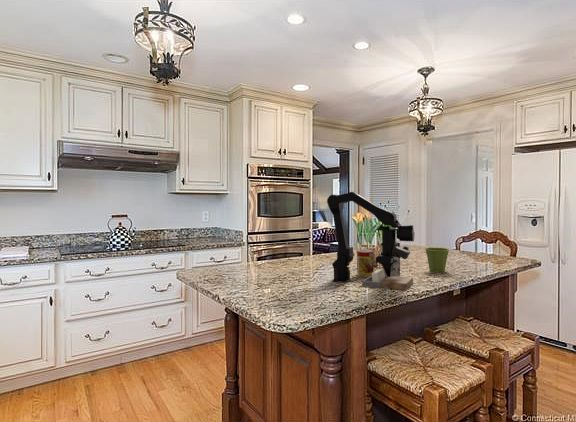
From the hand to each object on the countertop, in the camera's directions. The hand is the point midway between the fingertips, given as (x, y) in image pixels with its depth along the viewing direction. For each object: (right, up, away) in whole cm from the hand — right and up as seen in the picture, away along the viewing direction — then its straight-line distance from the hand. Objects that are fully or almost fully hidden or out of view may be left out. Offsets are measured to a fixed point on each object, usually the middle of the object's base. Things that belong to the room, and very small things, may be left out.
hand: (389, 276), depth 157 cm
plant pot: (+32, -2, +28) cm, 43 cm away
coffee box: (+7, -3, +20) cm, 21 cm away
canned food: (-6, -3, +20) cm, 21 cm away
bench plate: (+3, -3, -2) cm, 5 cm away
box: (-4, -3, +3) cm, 6 cm away
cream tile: (-3, 0, +2) cm, 3 cm away
